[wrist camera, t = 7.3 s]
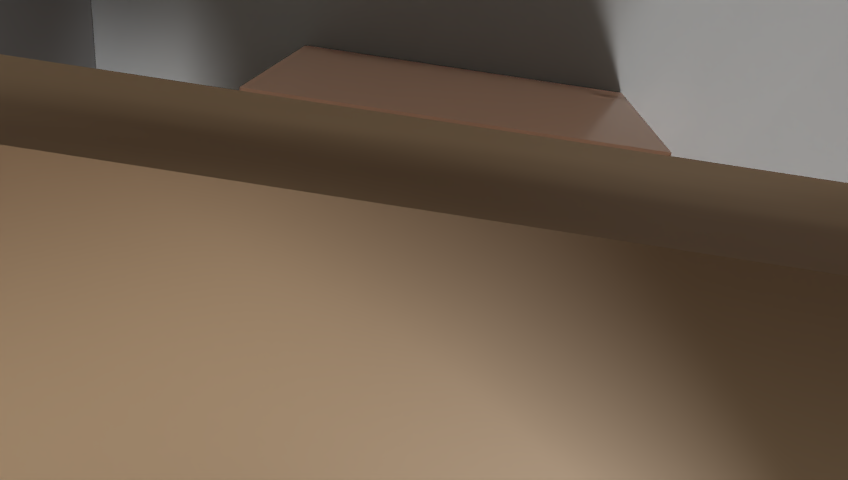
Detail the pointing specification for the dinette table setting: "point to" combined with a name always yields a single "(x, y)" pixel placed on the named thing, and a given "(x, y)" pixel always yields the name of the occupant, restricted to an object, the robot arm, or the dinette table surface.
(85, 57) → the gray rectangular block
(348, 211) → the lid
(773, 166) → the dinette table surface
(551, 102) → the pink hollow square box
